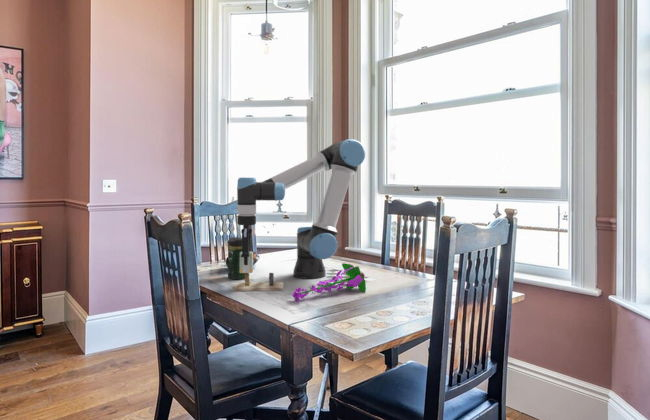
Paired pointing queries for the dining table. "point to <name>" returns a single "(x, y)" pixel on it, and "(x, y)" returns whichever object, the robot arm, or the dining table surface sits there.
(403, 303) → the dining table surface
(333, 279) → the purple and green stem
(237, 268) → the coffee jar
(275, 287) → the pin board
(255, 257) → the lucky cat figurine
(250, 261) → the sleeve
